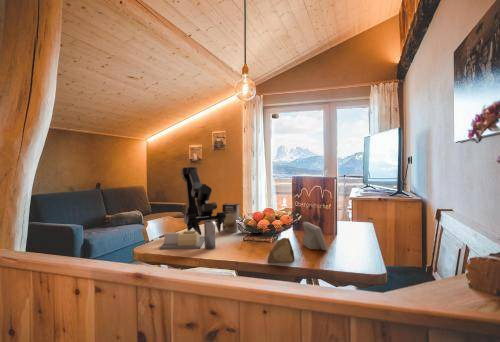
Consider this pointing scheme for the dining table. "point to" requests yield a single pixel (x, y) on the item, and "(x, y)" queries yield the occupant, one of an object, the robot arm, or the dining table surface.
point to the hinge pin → (209, 234)
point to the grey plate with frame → (183, 240)
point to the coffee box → (230, 217)
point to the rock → (282, 251)
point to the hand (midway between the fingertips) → (210, 233)
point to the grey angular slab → (313, 237)
